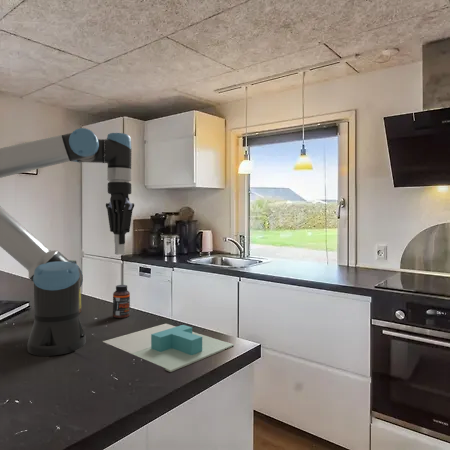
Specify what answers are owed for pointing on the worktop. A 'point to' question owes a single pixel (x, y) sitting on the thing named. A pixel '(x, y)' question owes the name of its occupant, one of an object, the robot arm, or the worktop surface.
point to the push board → (169, 358)
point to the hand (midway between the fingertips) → (119, 254)
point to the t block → (177, 340)
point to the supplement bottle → (121, 302)
